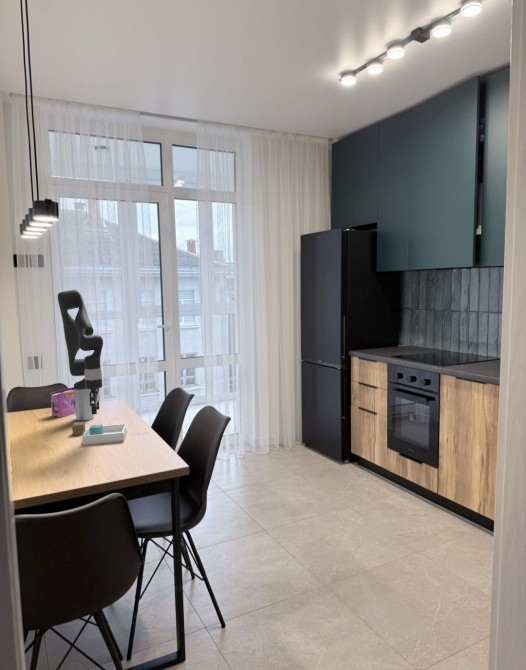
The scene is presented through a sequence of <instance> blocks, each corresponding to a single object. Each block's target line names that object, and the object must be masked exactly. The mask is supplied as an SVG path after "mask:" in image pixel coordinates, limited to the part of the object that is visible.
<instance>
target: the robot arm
mask: <svg viewBox="0 0 526 670" xmlns="http://www.w3.org/2000/svg"><path fill="white" fill-rule="evenodd" d="M57 302H58V306H59V311H60V315H61V320H62V325H63V334H64V340H65V345H66V348H67V350H66V351H67V356H68V367H69V368H68V369H69V373H70V375H71V376H72V377H82V376H84V378H83V379H81V380H79V381H77V382H74V384H73V387H74V397H75V411H76V413H75V419H76V421H78V422H85V421H90V420H93V419H94V417H95V415H97V414H98V410H100V399H101V395H100V389H102V387H103V374H102V373H103V372H102V367H101V358H102V357H101V356H102V349H103V347H104V339H103V337H102V336H101V335H100V334H94V327H93V325H92V323H91V322H90V319H89V316H88V311H87V308H86V305H85V301H84V298H83V295H82V293H81V291H79V289H71V290H64V291H60V292H58V294H57ZM75 309H78V310H77V313H76V315H75V318H73V317H72V315H70V313H69V312H68V311H70V310H75ZM80 350H81V351H83V352H90V351H93V353H91V354H90V355H86V356H85V357H84V358H77V359H76V357H77V356H76V355H77V354H78V351H80Z"/></svg>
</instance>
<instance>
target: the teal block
mask: <svg viewBox="0 0 526 670" xmlns="http://www.w3.org/2000/svg"><path fill="white" fill-rule="evenodd" d="M102 426H103V424H91V425H90V426H89V427H90V435H98V434H103V428H102Z"/></svg>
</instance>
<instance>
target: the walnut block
mask: <svg viewBox="0 0 526 670" xmlns="http://www.w3.org/2000/svg"><path fill="white" fill-rule="evenodd" d="M71 426H72V427H71V428H72V436H81V435H82V436H83V434H84V432H85V431H86V424H85V421H78V422H74V423H73V424H72V425H71Z"/></svg>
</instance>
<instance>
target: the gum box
mask: <svg viewBox="0 0 526 670" xmlns="http://www.w3.org/2000/svg"><path fill="white" fill-rule="evenodd" d="M50 405H51V409H50V410H51V416H52V417H55V416H57V417H56V418H63V417H67V416H70V415H73V414H76V413H75V412H76V411H75V397H74V386H73V387H70V388H65V389H64V388H63V389H61V390H57V391H53V392H50ZM72 413H73V414H72ZM69 414H70V415H69ZM66 415H67V416H66Z"/></svg>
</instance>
